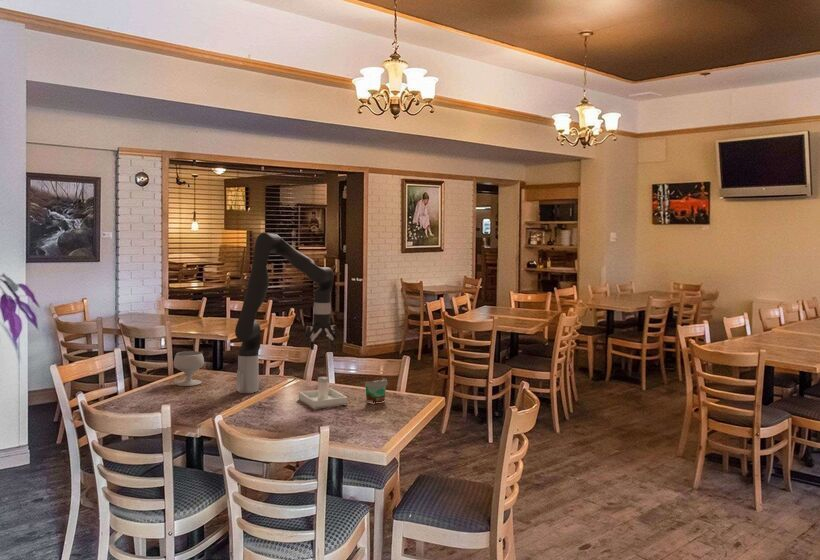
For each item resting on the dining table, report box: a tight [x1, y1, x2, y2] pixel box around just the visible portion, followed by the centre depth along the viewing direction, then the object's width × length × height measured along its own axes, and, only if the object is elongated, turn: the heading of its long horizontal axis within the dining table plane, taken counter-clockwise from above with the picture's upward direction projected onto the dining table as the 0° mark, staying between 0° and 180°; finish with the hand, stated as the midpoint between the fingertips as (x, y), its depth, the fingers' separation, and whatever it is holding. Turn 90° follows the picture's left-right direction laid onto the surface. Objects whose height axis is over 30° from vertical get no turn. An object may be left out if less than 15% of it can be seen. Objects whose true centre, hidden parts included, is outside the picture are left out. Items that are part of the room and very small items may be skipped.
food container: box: [364, 376, 389, 403], centre depth 284 cm, size 12×6×10 cm, turn 143°
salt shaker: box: [317, 376, 329, 400], centre depth 282 cm, size 5×5×10 cm
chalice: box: [173, 350, 205, 387], centre depth 312 cm, size 14×14×15 cm
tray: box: [298, 388, 349, 410], centre depth 283 cm, size 16×18×4 cm
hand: (321, 348), depth 284 cm, fingers open, 8 cm apart
